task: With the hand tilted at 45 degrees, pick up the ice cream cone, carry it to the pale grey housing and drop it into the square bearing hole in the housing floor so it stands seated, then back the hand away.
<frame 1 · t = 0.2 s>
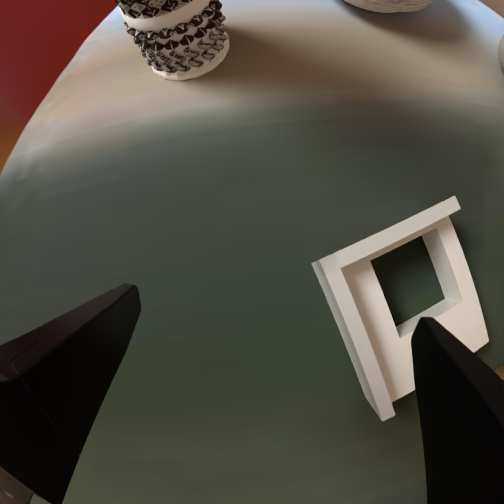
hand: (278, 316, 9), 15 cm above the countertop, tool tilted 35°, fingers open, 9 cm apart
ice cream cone: (501, 382, 21), on the countertop
decorative candle: (189, 50, 27), on the countertop
housing: (401, 303, 23), on the countertop
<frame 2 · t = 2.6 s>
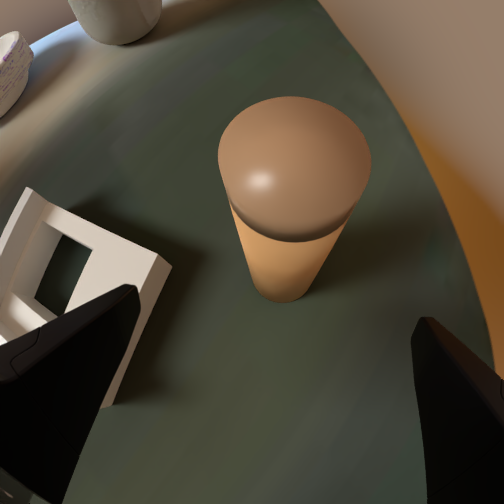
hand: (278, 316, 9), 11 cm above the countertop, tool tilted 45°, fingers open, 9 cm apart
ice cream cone: (282, 272, 21), on the countertop
paper bowls: (4, 100, 31), on the countertop
light grey bottle: (131, 36, 31), on the countertop
housing: (77, 300, 21), on the countertop
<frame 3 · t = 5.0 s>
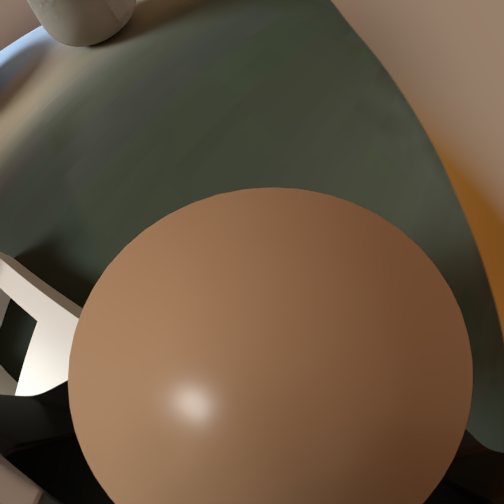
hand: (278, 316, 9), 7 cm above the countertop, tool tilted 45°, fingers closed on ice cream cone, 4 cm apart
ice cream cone: (272, 354, 15), on the countertop, touching gripper
light grey bottle: (103, 35, 25), on the countertop
housing: (34, 368, 16), on the countertop
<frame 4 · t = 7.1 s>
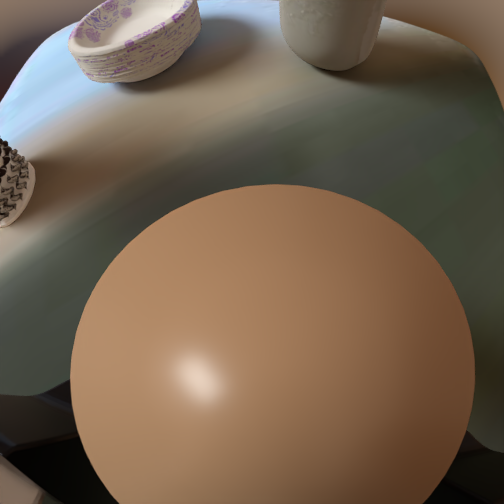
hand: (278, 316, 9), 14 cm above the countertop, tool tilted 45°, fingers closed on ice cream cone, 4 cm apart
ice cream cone: (273, 353, 15), point 7 cm above the countertop, touching gripper
decorative candle: (12, 194, 28), on the countertop
paper bowls: (147, 58, 32), on the countertop
light grey bottle: (324, 58, 30), on the countertop
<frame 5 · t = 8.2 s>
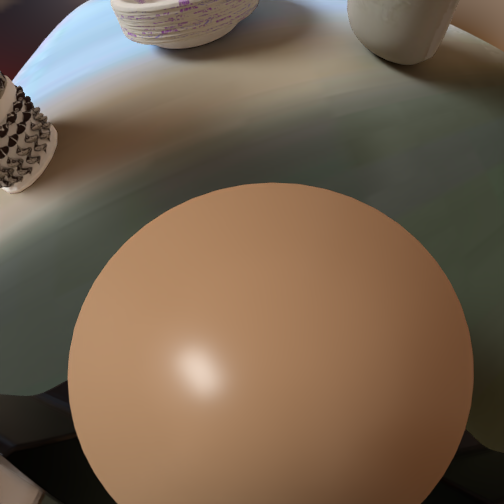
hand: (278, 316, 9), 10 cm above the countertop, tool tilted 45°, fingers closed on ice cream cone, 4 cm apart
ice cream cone: (272, 353, 15), point 4 cm above the countertop, touching gripper
decorative candle: (28, 157, 25), on the countertop
paper bowls: (194, 28, 29), on the countertop
light grey bottle: (386, 51, 26), on the countertop
when the fingers open (8 cm above the countertop, at t = 9.3 s): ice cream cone drops 2 cm, resting in housing.
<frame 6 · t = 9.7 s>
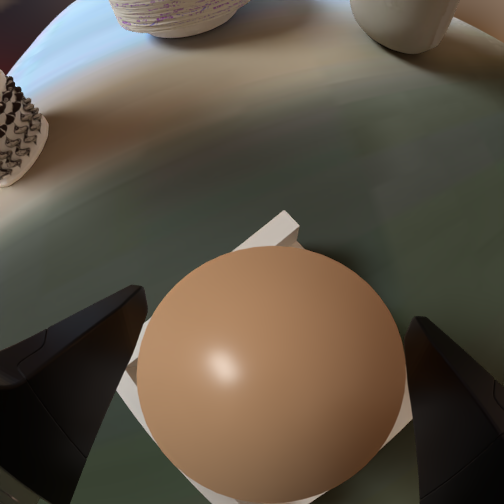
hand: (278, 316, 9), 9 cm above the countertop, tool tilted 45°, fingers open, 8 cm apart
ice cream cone: (272, 353, 17), resting in housing
decorative candle: (19, 150, 24), on the countertop
paper bowls: (191, 18, 27), on the countertop
light grey bottle: (389, 41, 24), on the countertop
housing: (276, 384, 17), on the countertop
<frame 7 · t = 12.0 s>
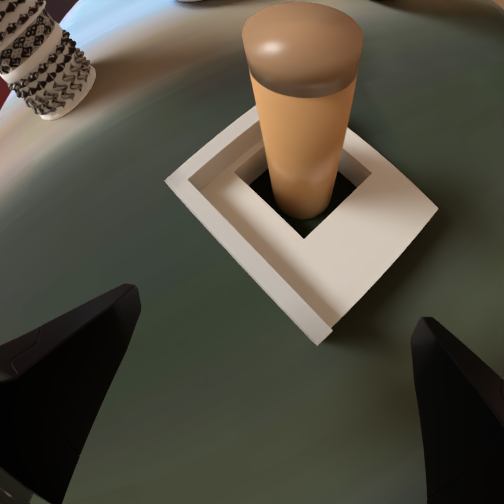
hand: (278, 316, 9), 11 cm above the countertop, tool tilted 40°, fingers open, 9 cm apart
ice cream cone: (302, 192, 21), resting in housing
decorative candle: (67, 92, 28), on the countertop
housing: (308, 215, 21), on the countertop
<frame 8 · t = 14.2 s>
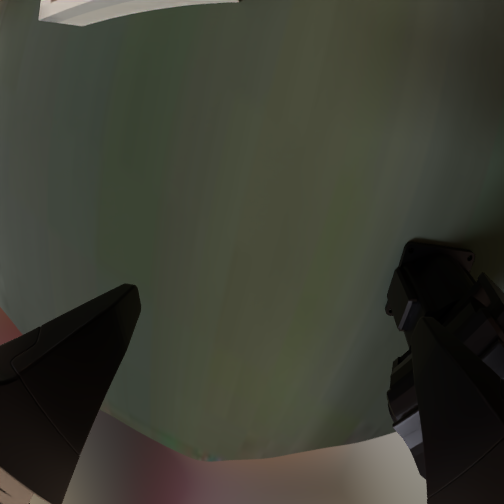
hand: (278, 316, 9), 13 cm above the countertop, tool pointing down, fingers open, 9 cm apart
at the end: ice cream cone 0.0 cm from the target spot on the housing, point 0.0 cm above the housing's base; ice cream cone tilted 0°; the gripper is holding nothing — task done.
